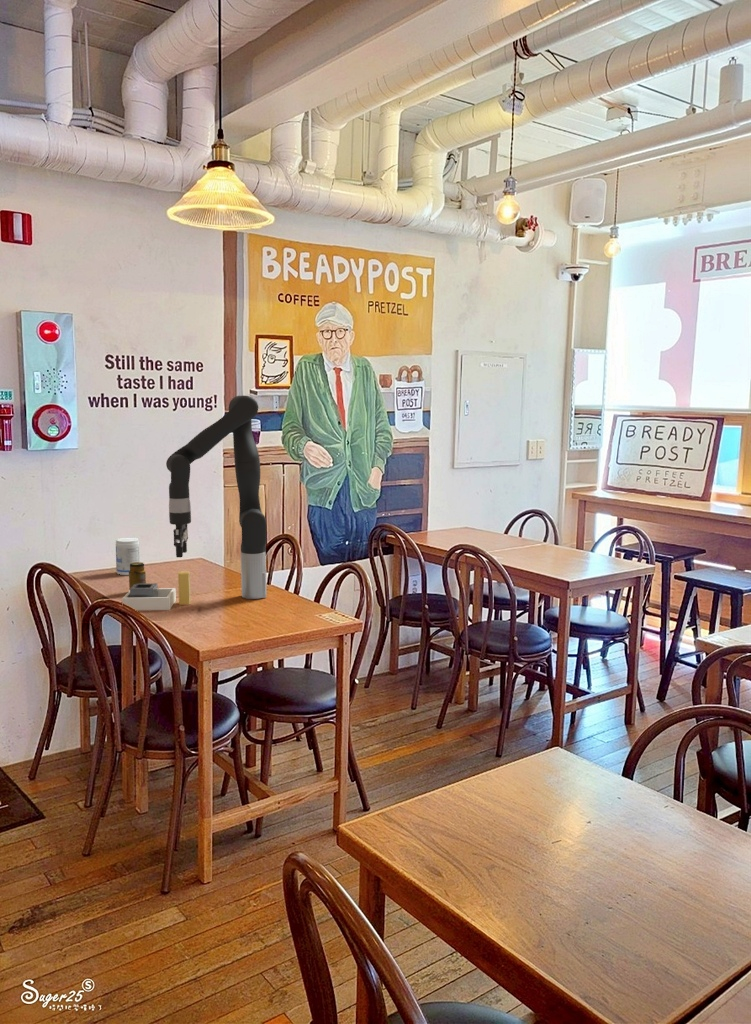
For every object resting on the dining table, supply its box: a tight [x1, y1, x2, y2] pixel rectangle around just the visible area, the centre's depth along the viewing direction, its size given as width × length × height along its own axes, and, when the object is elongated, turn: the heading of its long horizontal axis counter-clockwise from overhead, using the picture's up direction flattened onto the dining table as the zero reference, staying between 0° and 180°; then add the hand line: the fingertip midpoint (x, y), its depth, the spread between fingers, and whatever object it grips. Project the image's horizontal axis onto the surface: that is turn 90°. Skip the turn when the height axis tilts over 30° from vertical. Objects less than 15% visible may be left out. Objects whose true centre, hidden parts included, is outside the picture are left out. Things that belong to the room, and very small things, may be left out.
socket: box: [130, 582, 158, 597], centre depth 291 cm, size 8×8×7 cm
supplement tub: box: [115, 537, 141, 576], centre depth 343 cm, size 10×10×15 cm
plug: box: [177, 570, 192, 606], centre depth 293 cm, size 4×4×12 cm
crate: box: [122, 587, 177, 611], centre depth 291 cm, size 16×14×5 cm
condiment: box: [128, 561, 147, 592], centre depth 308 cm, size 7×8×12 cm
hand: (181, 554), depth 292 cm, fingers open, 8 cm apart
